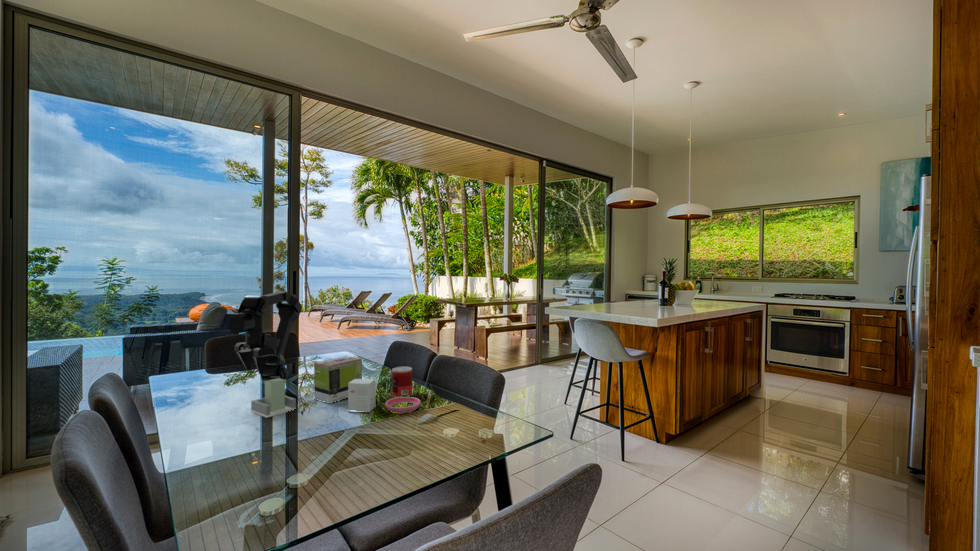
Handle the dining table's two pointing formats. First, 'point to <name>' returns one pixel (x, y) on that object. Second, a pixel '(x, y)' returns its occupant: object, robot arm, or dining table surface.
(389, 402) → the pink shallow round dish
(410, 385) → the canned food
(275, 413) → the keeper bay
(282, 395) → the green block
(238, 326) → the robot arm
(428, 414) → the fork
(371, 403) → the small box
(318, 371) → the tea box
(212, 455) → the dining table surface
